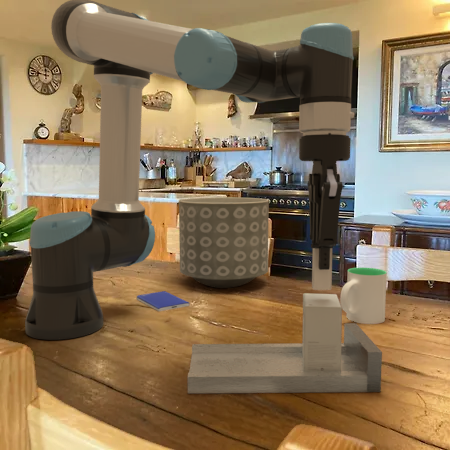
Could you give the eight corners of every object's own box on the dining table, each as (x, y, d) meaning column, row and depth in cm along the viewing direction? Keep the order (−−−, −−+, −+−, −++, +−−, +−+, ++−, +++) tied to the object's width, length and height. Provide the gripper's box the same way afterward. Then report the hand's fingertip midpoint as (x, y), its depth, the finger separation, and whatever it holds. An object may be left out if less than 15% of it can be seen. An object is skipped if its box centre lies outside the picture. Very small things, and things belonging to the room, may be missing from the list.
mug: (361, 330, 96) (362, 280, 94) (328, 321, 102) (329, 273, 100) (391, 318, 104) (393, 271, 102) (359, 310, 110) (360, 266, 108)
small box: (341, 376, 71) (342, 307, 70) (303, 373, 72) (304, 305, 71) (336, 355, 79) (337, 293, 78) (301, 353, 80) (302, 292, 79)
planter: (280, 291, 127) (281, 201, 124) (188, 297, 121) (187, 203, 118) (252, 272, 151) (253, 196, 148) (174, 276, 145) (173, 198, 142)
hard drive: (136, 295, 119) (158, 307, 109) (165, 290, 124) (189, 301, 114) (136, 301, 119) (158, 313, 109) (165, 296, 124) (189, 308, 114)
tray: (187, 393, 69) (187, 353, 68) (192, 358, 82) (192, 324, 81) (380, 391, 69) (382, 352, 69) (355, 357, 82) (356, 323, 81)
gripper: (362, 131, 65) (357, 299, 68) (338, 137, 78) (335, 279, 81) (307, 131, 65) (305, 300, 67) (293, 137, 78) (291, 279, 80)
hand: (321, 288), depth 74 cm, fingers closed
